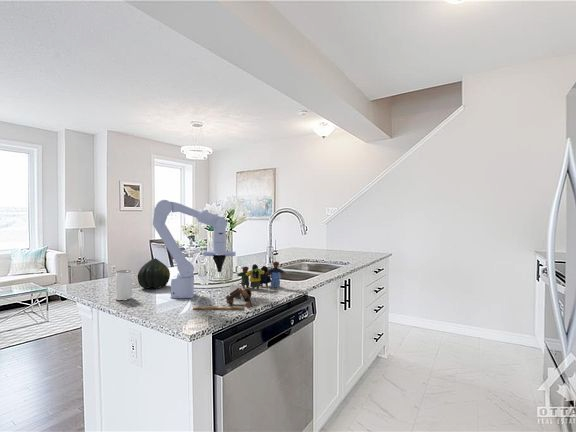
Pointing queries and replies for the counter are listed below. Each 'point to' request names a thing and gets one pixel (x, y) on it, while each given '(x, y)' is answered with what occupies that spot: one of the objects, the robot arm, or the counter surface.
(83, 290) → the counter surface
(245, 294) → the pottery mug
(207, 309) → the counting strip
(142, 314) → the counter surface
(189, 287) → the robot arm
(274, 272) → the doll family
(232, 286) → the die
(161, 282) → the squash
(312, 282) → the counter surface
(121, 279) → the can
